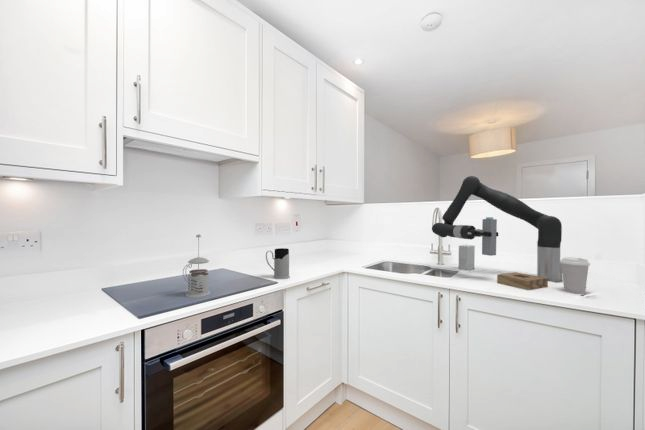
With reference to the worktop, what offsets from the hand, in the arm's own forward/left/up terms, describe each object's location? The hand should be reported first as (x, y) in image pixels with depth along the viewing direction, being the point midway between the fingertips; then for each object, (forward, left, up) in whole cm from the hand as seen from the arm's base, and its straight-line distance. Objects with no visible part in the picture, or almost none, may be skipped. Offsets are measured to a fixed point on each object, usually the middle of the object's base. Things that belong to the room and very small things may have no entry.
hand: (494, 234), depth 137 cm
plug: (+1, -2, -10) cm, 11 cm away
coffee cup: (-25, +16, -24) cm, 38 cm away
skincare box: (0, -35, -24) cm, 42 cm away
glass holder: (+110, +1, -24) cm, 113 cm away
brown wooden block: (-9, +7, -24) cm, 26 cm away
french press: (+135, +36, -24) cm, 142 cm away
